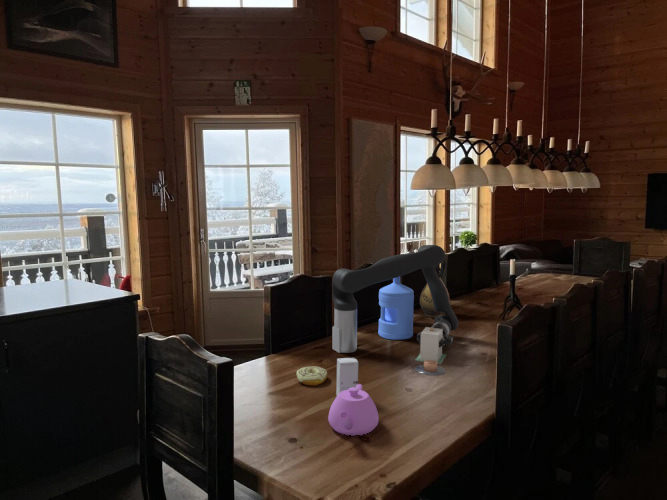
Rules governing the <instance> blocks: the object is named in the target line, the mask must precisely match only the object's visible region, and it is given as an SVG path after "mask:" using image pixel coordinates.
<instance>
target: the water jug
mask: <svg viewBox="0 0 667 500" xmlns="http://www.w3.org/2000/svg"><path fill="white" fill-rule="evenodd" d="M392 281H393V282H392V283H390V284H388V285H385V286H383V287H381V288H380V289H379V291H378V300H379V301H378V305H379V306H380V318H379V319H378V329H377V330H378V331H377V332H378V335H379V337H381V338H383V339H386V340H393V341H394V340H395V341H396V340H397V341H398V340H409V339H411V338H412V337H413V336H414V314H415V312H414V303H415V302H414V300H415V295H414V290H413V289H412V288H410V287H408V286H407V285H404V284H402V283H401V276H400V277H397V278H394V279H392Z"/></svg>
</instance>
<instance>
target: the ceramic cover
mask: <svg viewBox="0 0 667 500" xmlns="http://www.w3.org/2000/svg"><path fill="white" fill-rule="evenodd" d="M420 332H421V345H420V344H419V345H420V351H419V354H420V360H435V361H437V362H438V360H439V359H440V357H441V356H442V354H443V346H441V347H439V341H440V340H441V338H442V335H443V329H438V328H433V327H432V326H431V327H430V326H425V327H424V329H423V330H422V331H420Z"/></svg>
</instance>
